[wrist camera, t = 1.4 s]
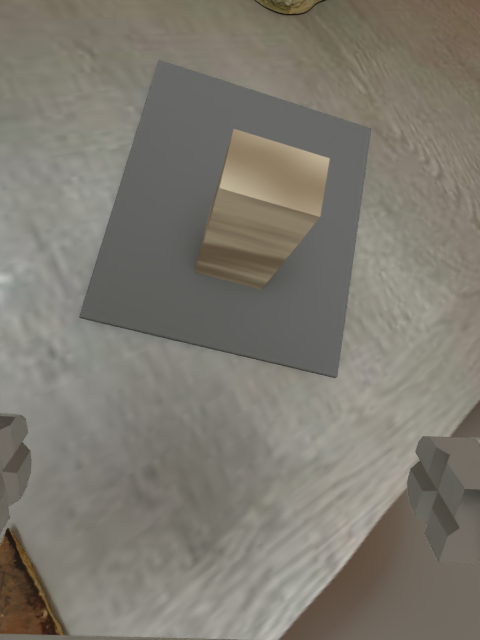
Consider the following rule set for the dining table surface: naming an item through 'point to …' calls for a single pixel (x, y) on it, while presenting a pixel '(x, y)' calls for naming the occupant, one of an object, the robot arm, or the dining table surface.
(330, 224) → the rubber mat
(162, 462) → the dining table surface
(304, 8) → the ceramic model
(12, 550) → the shard
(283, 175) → the birch block
